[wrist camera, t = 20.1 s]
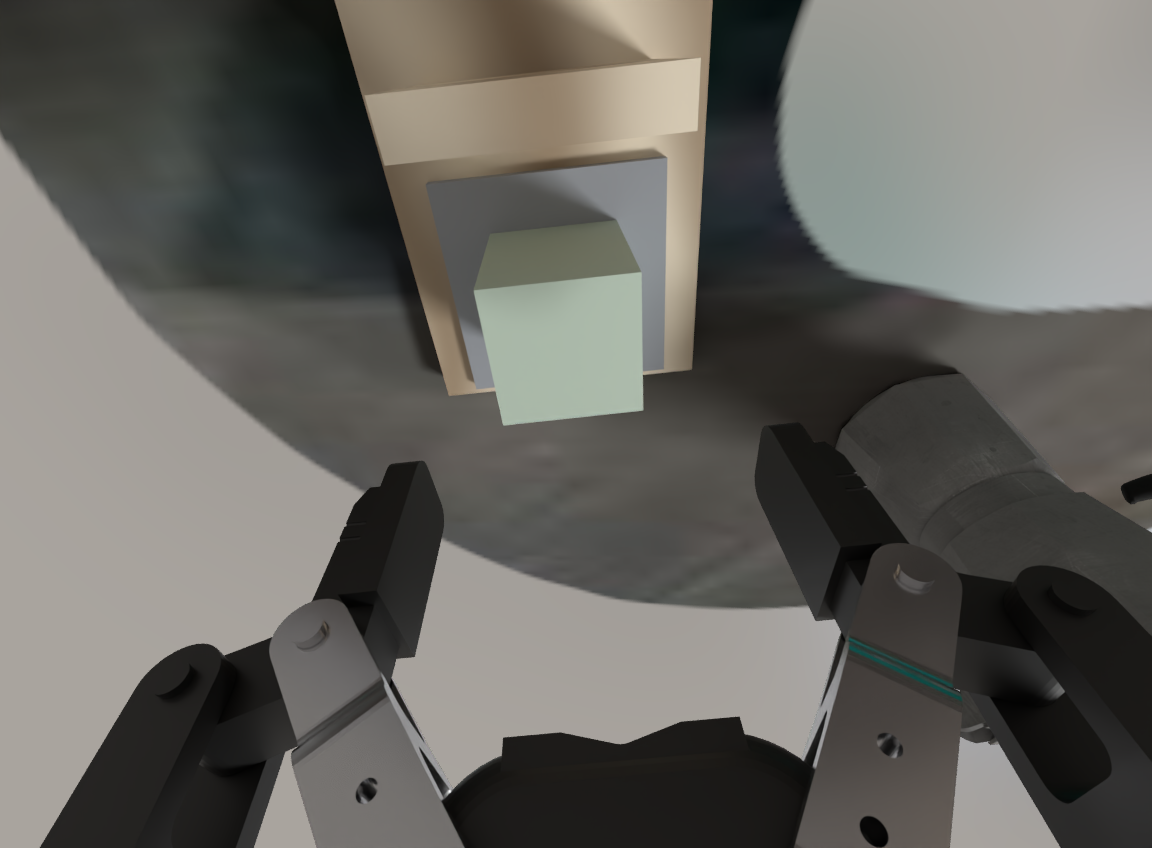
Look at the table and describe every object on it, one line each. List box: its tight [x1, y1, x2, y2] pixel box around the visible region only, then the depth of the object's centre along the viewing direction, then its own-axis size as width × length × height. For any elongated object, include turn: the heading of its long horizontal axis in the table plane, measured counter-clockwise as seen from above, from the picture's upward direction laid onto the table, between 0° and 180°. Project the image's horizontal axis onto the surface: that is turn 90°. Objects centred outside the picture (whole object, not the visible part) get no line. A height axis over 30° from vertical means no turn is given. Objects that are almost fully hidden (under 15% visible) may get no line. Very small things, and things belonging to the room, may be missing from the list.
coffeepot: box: [835, 374, 1152, 745], centre depth 22 cm, size 15×9×18 cm, turn 122°
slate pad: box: [426, 156, 667, 389], centre depth 21 cm, size 9×9×1 cm
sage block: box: [474, 220, 643, 425], centre depth 19 cm, size 5×5×6 cm
